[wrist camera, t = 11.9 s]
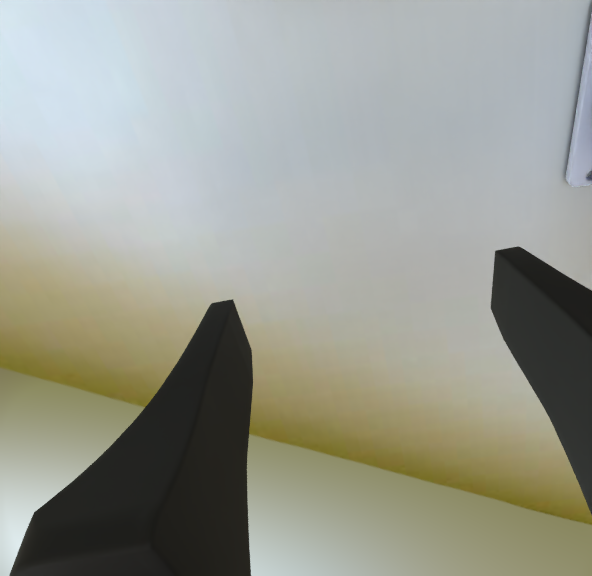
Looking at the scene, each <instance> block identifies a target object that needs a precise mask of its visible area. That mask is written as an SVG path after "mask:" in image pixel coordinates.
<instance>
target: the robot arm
mask: <svg viewBox="0 0 592 576" xmlns="http://www.w3.org/2000/svg"><path fill="white" fill-rule="evenodd" d="M590 171H592V14H591V21H590V27H589V33H588V39H587V46H586V52H585V58H584V65H583V71H582V77H581V84H580V90H579V96H578V103H577V109H576V115H575V121H574V128H573V134H572V140H571V147H570V153H569V159H568V166H567V172H566V181H567V182H568V183H569V184H570V185H571V186H573V187H582V186H587V185H592V174H591V175H590V176H588V177H586V176H587V174H588V173H589V172H590ZM491 310H492V312H493V315H494V317H495V320H496V322H497V325H498V327H499V329H500V332H501V334H502V336H503V339H504V341H505V342H506V344H507V346H508V348H509V349H510V351H511V353H512V354H513V356H514V358H515V360H516V361H517V363H518V365H519V366H520V368H521V370H522V371H523V373H524V375H525V376H526V378H527V380H528V381H529V383H530V385H531V386H532V388H533V390H534V392H535V393H536V395H537V397H538V398H539V400H540V402H541V403H542V405H543V407H544V409H545V410H546V412H547V414H548V416H549V418H550V420H551V422H552V424H553V426H554V428H555V430H556V433H557V435H558V437H559V439H560V441H561V443H562V446H563V448H564V450H565V452H566V454H567V457H568V459H569V461H570V464H571V466H572V468H573V471H574V473H575V475H576V478H577V480H578V482H579V485H580V487H581V489H582V492H583V494H584V497H585V499H586V502H587V504H588V507H589V509H590V512H591V514H592V291H591V290H590V289H588V288H586V287H584V286H583V285H581V284H579V283H578V282H576V281H574V280H572V279H571V278H569V277H568V276H566V275H564V274H563V273H561V272H559V271H558V270H556V269H555V268H553V267H551V266H550V265H548V264H547V263H545V262H543V261H542V260H540V259H539V258H537V257H535V256H534V255H532V254H531V253H529V252H527V251H526V250H524V249H522V248H521V247H513V248H508V249H502V250H497V251H495V261H494V274H493V286H492V299H491ZM252 388H253V371H252V352H251V348H250V345H249V342H248V339H247V337H246V334H245V331H244V329H243V326H242V323H241V320H240V318H239V315H238V312H237V310H236V307H235V304H234V301H233V300H227V301H222V302H217V303H212V304H211V305H210V307H209V308H208V310H207V312H206V314H205V316H204V317H203V319H202V321H201V323H200V325H199V327H198V328H197V330H196V332H195V334H194V336H193V337H192V339H191V341H190V342H189V344H188V346H187V348H186V349H185V351H184V353H183V354H182V356H181V358H180V359H179V361H178V362H177V364H176V365H175V367H174V368H173V370H172V371H171V373H170V374H169V376H168V377H167V379H166V380H165V382H164V383H163V385H162V386H161V388H160V389H159V390H158V392H157V393H156V394H155V396H154V397H153V398H152V400H151V401H150V402H149V404H148V405H147V406H146V407H145V409H144V410H143V411H142V412H141V414H140V415H139V416H138V417H137V418H136V419H135V421H134V422H133V423H132V424H131V425H130V426H129V427H128V428H127V429H126V430H125V431H124V432H123V433H122V435H121V436H120V437H119V438H118V439H117V440H116V441H115V442H114V443H113V444H112V445H111V446H110V447H109V448H108V449H107V450H106V451H105V452H104V453H103V454H102V455H101V456H100V457H99V458H98V459H97V460H96V461H95V462H94V463H93V464H92V465H90V466H89V467H88V468H87V469H86V470H85V471H84V472H83V473H82V474H81V475H79V476H78V477H77V478H76V479H75V480H74V481H73V482H72V483H70V484H69V485H68V486H67V487H65V488H64V489H63V490H62V491H60V492H59V493H58V494H57V495H56V496H54V497H53V498H52V499H51V500H49V501H48V502H47V503H46V504H44V505H43V506H42V507H41V508H39V509H38V510H37V511H36V512H34V515H33V517H32V519H31V521H30V524H29V526H28V528H27V531H26V533H25V536H24V539H23V541H22V544H21V546H20V549H19V552H18V555H17V557H16V559H15V562H14V565H13V567H12V570H11V573H10V576H251V570H250V552H249V533H248V505H247V450H248V438H249V426H250V414H251V402H252Z"/></svg>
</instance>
